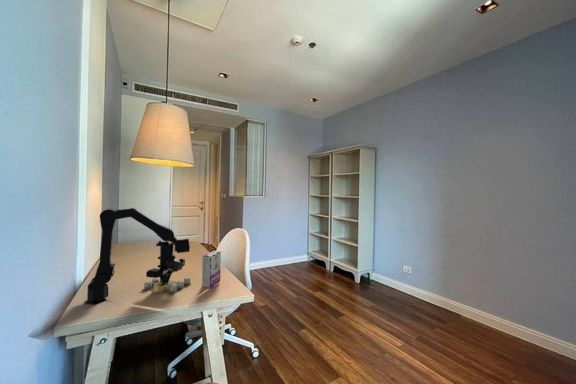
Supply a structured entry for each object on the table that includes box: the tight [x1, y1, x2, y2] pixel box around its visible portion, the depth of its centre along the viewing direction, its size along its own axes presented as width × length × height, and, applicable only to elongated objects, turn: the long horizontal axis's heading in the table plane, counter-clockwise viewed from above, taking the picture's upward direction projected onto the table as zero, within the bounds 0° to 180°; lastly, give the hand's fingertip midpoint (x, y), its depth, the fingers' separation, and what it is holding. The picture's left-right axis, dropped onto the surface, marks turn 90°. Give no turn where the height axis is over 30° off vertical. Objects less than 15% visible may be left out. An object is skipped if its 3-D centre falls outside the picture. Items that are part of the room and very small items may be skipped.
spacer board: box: [141, 277, 192, 295], centre depth 113 cm, size 20×18×4 cm
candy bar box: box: [201, 250, 222, 289], centre depth 123 cm, size 11×5×16 cm, turn 170°
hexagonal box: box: [152, 282, 167, 294], centre depth 111 cm, size 5×6×3 cm
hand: (165, 285), depth 115 cm, fingers closed
